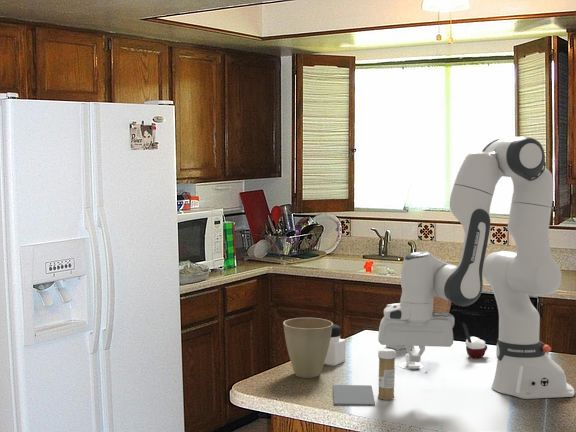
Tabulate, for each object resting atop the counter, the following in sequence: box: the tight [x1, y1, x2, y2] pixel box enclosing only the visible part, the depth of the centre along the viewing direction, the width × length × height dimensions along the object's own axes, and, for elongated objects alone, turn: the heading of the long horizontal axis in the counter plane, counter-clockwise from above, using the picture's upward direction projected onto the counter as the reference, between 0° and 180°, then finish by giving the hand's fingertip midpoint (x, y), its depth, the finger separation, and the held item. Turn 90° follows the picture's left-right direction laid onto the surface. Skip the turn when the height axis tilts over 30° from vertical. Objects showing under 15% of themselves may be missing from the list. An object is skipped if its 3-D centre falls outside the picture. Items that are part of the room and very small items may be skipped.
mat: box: [332, 384, 376, 407], centre depth 233 cm, size 11×17×1 cm, turn 178°
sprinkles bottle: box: [377, 348, 396, 401], centre depth 231 cm, size 5×5×13 cm
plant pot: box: [282, 317, 334, 379], centre depth 254 cm, size 15×15×16 cm
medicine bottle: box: [323, 323, 346, 367], centre depth 268 cm, size 7×7×12 cm
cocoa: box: [461, 322, 488, 360], centre depth 274 cm, size 10×6×12 cm, turn 94°
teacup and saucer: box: [397, 352, 424, 370], centre depth 264 cm, size 9×8×4 cm
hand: (414, 361), depth 230 cm, fingers closed
